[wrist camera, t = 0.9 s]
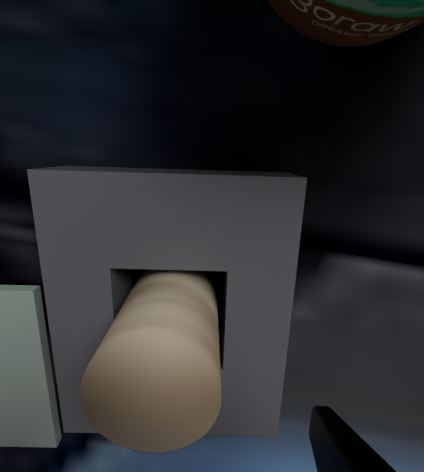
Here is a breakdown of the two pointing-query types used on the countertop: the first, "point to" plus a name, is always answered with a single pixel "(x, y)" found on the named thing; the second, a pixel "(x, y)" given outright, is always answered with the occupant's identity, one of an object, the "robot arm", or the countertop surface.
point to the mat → (26, 372)
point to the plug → (158, 364)
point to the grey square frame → (172, 258)
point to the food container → (350, 19)
